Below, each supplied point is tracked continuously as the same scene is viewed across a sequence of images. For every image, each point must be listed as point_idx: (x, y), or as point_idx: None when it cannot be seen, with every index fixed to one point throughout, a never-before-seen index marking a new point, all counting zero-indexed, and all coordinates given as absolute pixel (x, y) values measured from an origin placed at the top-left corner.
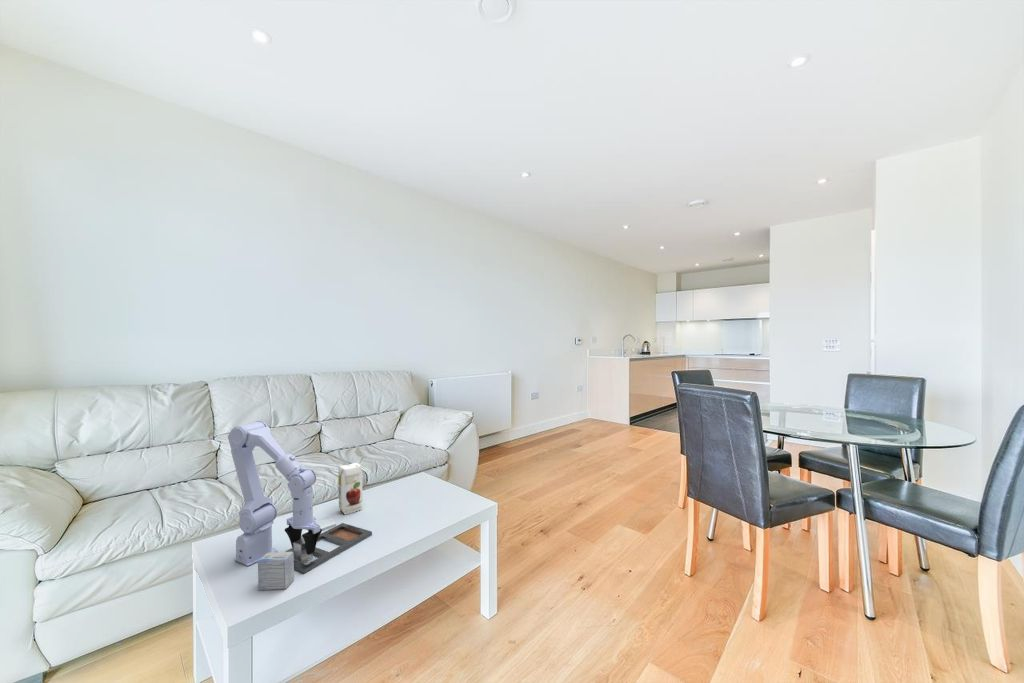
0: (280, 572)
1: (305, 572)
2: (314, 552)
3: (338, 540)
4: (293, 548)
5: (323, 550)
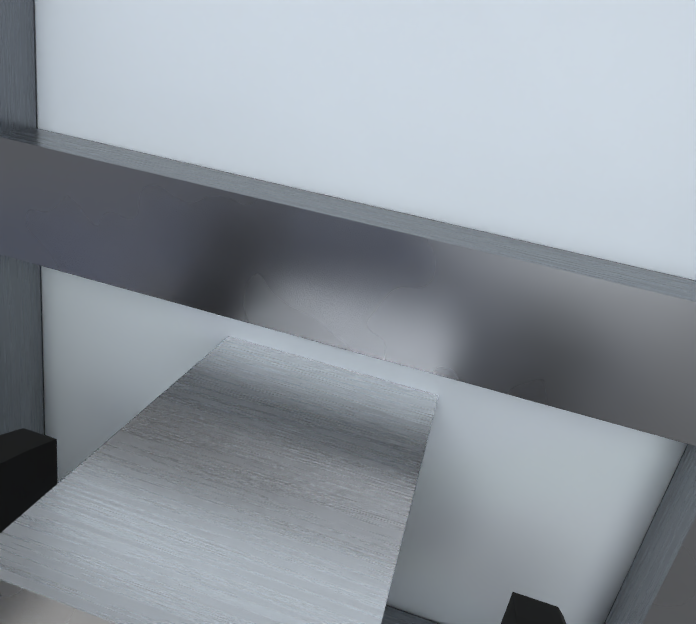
0: None
1: None
2: (401, 357)
3: None
4: None
5: (571, 283)
